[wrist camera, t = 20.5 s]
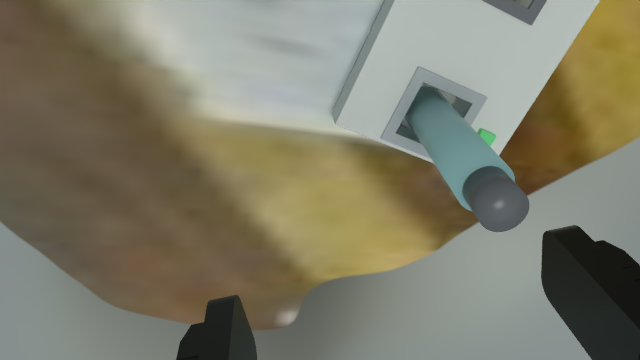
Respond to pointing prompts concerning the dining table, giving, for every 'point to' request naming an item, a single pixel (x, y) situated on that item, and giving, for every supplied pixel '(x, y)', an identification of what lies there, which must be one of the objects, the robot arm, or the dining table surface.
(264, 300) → the dining table surface
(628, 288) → the robot arm
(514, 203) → the plug
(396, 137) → the panel
